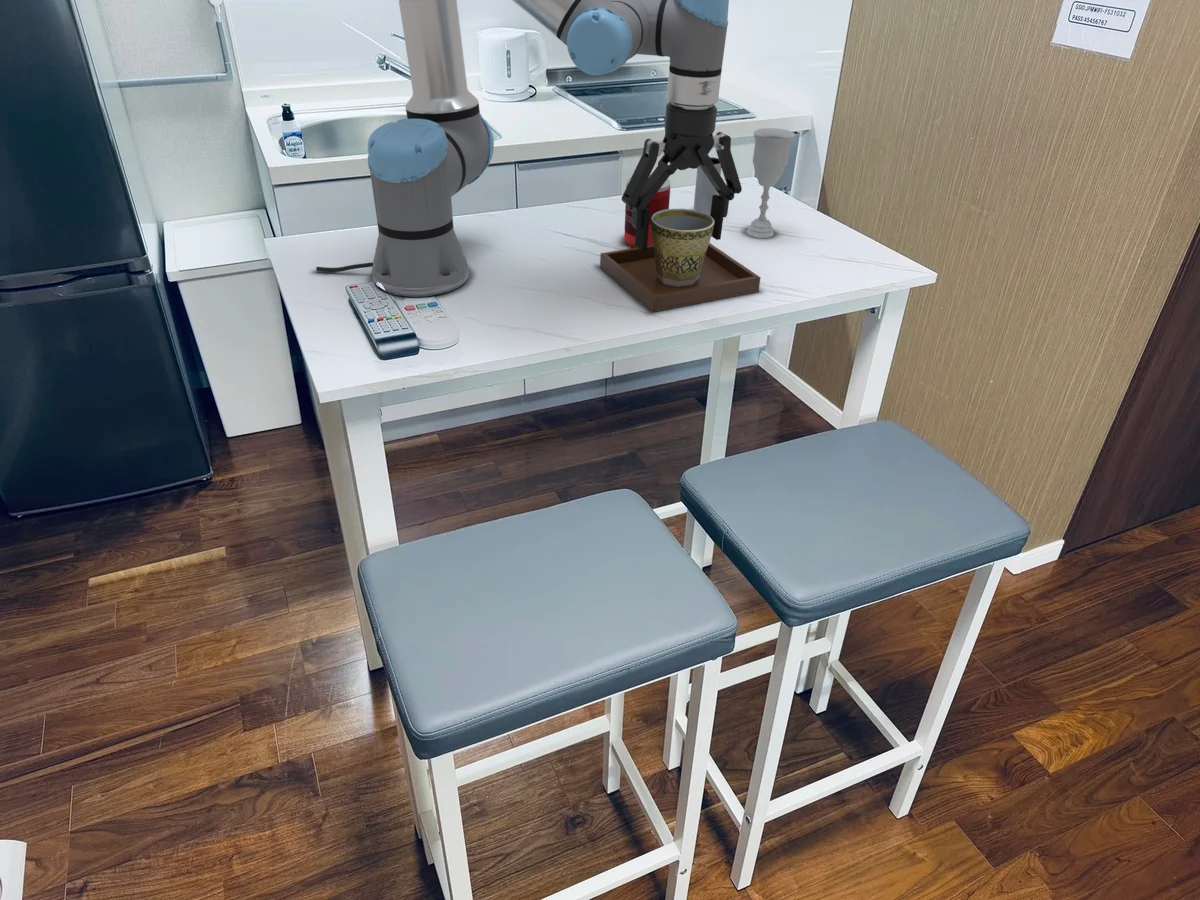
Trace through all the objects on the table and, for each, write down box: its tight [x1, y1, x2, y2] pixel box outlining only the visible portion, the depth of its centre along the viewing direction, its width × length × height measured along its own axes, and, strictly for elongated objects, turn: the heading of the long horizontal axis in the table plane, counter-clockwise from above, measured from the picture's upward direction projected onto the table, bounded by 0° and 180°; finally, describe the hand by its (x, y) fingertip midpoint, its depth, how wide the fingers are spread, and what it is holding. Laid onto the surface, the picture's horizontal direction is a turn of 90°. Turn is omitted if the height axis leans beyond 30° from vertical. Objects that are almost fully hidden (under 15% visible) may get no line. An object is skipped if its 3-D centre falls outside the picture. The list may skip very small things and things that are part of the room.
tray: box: [599, 242, 761, 313], centre depth 138 cm, size 20×19×2 cm
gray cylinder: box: [693, 156, 722, 215], centre depth 161 cm, size 4×4×10 cm
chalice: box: [746, 127, 796, 239], centre depth 151 cm, size 7×7×18 cm
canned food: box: [623, 176, 671, 248], centre depth 148 cm, size 8×8×11 cm
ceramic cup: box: [651, 208, 714, 287], centre depth 136 cm, size 13×10×10 cm
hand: (678, 242), depth 135 cm, fingers open, 13 cm apart
